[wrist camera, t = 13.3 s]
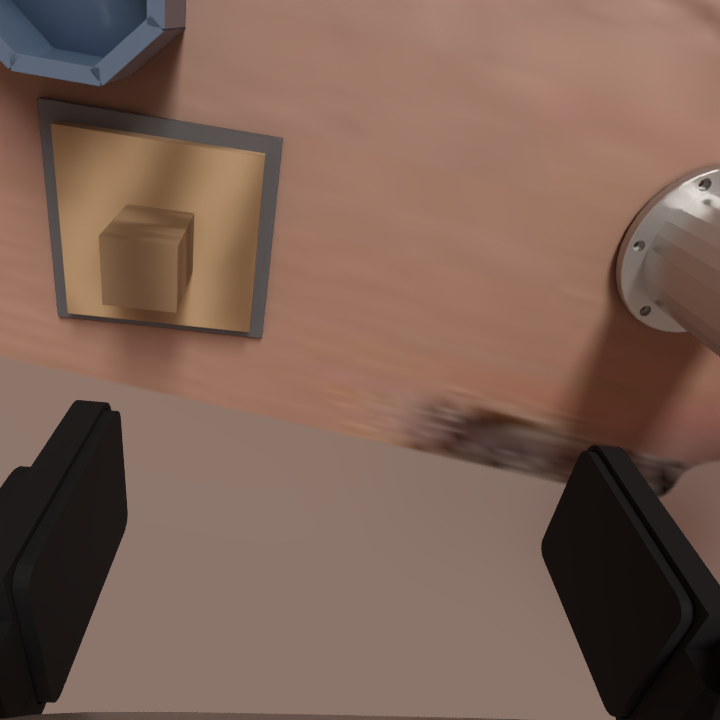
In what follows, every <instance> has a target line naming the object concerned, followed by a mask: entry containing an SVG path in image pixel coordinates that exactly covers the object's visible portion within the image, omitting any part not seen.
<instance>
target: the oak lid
mask: <svg viewBox="0 0 720 720" xmlns="http://www.w3.org/2000/svg"><path fill="white" fill-rule="evenodd" d="M51 131H52V142H53V153H54V165H55V176H56V187H57V198H58V209H59V220H60V232H61V243H62V254H63V265H64V276H65V287H66V299H67V310H68V313H71V314H81V315H90V316H100V317H109V318H119V319H128V320H138V321H147V322H156V323H166V324H175V325H185V326H194V327H204V328H213V329H223V330H232V331H242V332H250V325H251V314H252V302H253V291H254V280H255V268H256V257H257V246H258V234H259V223H260V212H261V200H262V189H263V178H264V166H265V155H266V154H265V153H259V152H253V151H247V150H240V149H234V148H228V147H222V146H215V145H209V144H203V143H197V142H190V141H184V140H178V139H171V138H165V137H159V136H153V135H146V134H140V133H134V132H128V131H121V130H115V129H109V128H103V127H96V126H90V125H84V124H78V123H71V122H65V121H59V120H58V121H56V122H54V123H51Z"/></svg>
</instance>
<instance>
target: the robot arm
mask: <svg viewBox="0 0 720 720" xmlns="http://www.w3.org/2000/svg"><path fill="white" fill-rule="evenodd" d="M616 283H617V290H618V292H619V295H620V298H621V300H622V302H623V304H624V305H625V306H626V308H627V309H628V311H629V312H630V313H631V314H632V315H634V316H635V317H636V318H637V319H638V320H639V321H641V322H642V323H644V324H645V325H647V326H649V327H651V328H654V329H657V330H660V331H665V332H673V333H679V332H689V333H690V334H691V335H693V336H694V337H695V338H696V339H698V340H699V341H700V342H701V343H703V344H704V345H705V346H706V347H708V348H709V349H710V350H711V351H713V352H714V353H715V354H716V355H718V356H719V357H720V165H716V166H712V167H707V168H703V169H700V170H697V171H695V172H693V173H690V174H688V175H685V176H683V177H682V178H680V179H678V180H677V181H675V182H673V183H672V184H670V185H669V186H667V187H666V188H665V189H663V190H662V191H661V192H660V193H659V194H657V195H656V196H655V197H654V198H653V199H652V200H651V201H650V202H649V203H648V204H647V205H646V206H645V207H644V208H643V209H642V211H641V212H640V213H639V214H638V216H637V217H636V219H635V220H634V222H633V223H632V225H631V226H630V228H629V229H628V231H627V233H626V236H625V238H624V240H623V242H622V244H621V247H620V251H619V254H618V258H617V265H616ZM123 458H124V457H123V443H122V430H121V417H120V413H119V412H118V411H111V407H110V405H109V403H106V402H94V401H83V400H77V401H75V402H74V403H73V404H72V406H71V407H70V408H69V410H68V412H67V413H66V415H65V416H64V418H63V419H62V421H61V422H60V424H59V425H58V427H57V428H56V430H55V431H54V433H53V434H52V436H51V437H50V439H49V440H48V442H47V443H46V445H45V446H44V448H43V449H42V451H41V452H40V454H39V456H38V457H37V458H36V460H35V461H34V463H33V464H32V466H31V467H23V466H20V467H18V468H16V469H14V470H13V472H12V473H11V474H10V475H9V476H8V478H7V480H6V481H5V482H4V484H3V485H2V487H1V488H0V720H518V719H482V718H441V717H440V718H439V717H399V716H354V715H308V714H307V715H306V714H254V713H253V714H252V713H251V714H250V713H198V712H196V713H195V712H193V713H192V712H83V713H61V714H42V712H43V709H44V707H45V704H46V702H56V701H57V700H58V698H59V697H60V694H61V692H62V690H63V687H64V684H65V682H66V680H67V677H68V675H69V672H70V670H71V667H72V664H73V662H74V659H75V657H76V654H77V652H78V649H79V647H80V644H81V641H82V639H83V636H84V634H85V631H86V628H87V626H88V624H89V621H90V618H91V616H92V613H93V611H94V608H95V606H96V603H97V600H98V598H99V595H100V592H101V590H102V587H103V585H104V583H105V580H106V578H107V575H108V572H109V570H110V567H111V565H112V562H113V560H114V557H115V554H116V552H117V549H118V547H119V544H120V542H121V539H122V537H123V534H124V531H125V527H126V524H127V515H128V514H127V498H126V486H125V485H126V484H125V471H124V459H123ZM541 550H542V556H543V559H544V561H545V564H546V566H547V569H548V571H549V573H550V576H551V578H552V581H553V583H554V586H555V588H556V590H557V593H558V595H559V597H560V600H561V603H562V605H563V607H564V610H565V612H566V615H567V617H568V620H569V622H570V624H571V627H572V629H573V632H574V634H575V636H576V639H577V641H578V643H579V646H580V649H581V651H582V653H583V656H584V658H585V661H586V663H587V665H588V668H589V670H590V672H591V675H592V678H593V680H594V682H595V684H596V687H597V690H598V692H599V695H600V697H601V699H602V702H603V704H604V706H605V708H606V710H607V712H608V713H609V714H610V715H611V716H615V717H616V720H720V585H719V584H718V582H717V581H716V579H715V578H714V577H713V575H712V574H711V572H710V571H709V569H708V568H707V567H706V565H705V564H704V563H703V561H702V560H701V558H700V557H699V555H698V554H697V552H696V551H695V550H694V548H693V547H692V546H691V544H690V543H689V541H688V540H687V538H686V537H685V536H684V534H683V533H682V531H681V530H680V528H679V527H678V526H677V524H676V523H675V521H674V520H673V519H672V517H671V516H670V514H669V513H668V512H667V510H666V509H665V507H664V506H663V505H662V503H661V502H660V500H659V499H658V497H657V496H656V495H655V493H654V492H653V490H652V489H651V488H650V486H649V485H648V483H647V482H646V480H645V479H644V478H643V476H642V475H641V473H640V472H639V471H638V469H637V468H636V466H635V465H634V464H633V462H632V461H631V459H630V458H629V456H628V455H627V454H626V452H625V451H624V450H623V449H622V448H619V447H610V446H598V445H593V446H591V447H590V448H588V450H587V451H584V452H582V453H581V454H580V455H579V457H578V460H577V462H576V464H575V466H574V469H573V471H572V473H571V476H570V478H569V480H568V482H567V485H566V487H565V489H564V492H563V494H562V496H561V499H560V501H559V503H558V505H557V508H556V510H555V512H554V515H553V517H552V519H551V521H550V524H549V526H548V528H547V531H546V533H545V535H544V538H543V540H542V548H541Z"/></svg>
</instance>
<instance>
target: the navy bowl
mask: <svg viewBox="0 0 720 720" xmlns="http://www.w3.org/2000/svg"><path fill="white" fill-rule="evenodd" d="M185 19H186V0H0V61H1V62H2V63H3V64H4V65H5V66H6V67H7V68H8V69H11V71H15V72H21V73H27V74H32V75H38V76H44V77H49V78H55V79H61V80H67V81H72V82H78V83H84V84H90V85H95V86H103V85H106V84H109V83H112V82H114V81H117V80H120V79H123V78H125V77H128V76H131V75H133V74H134V73H135V72H136V71H138V70H139V69H140V68H141V67H142V66H143V65H144V64H145V63H147V62H148V61H149V60H150V59H151V58H152V57H153V56H154V55H156V54H157V53H158V52H159V51H160V50H161V49H162V48H164V47H165V46H166V45H167V44H168V43H169V42H170V41H171V40H173V39H174V38H175V37H176V36H177V35H178V34H179V33H180V32H182V31H183V30H184V28H183V27H185Z"/></svg>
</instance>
